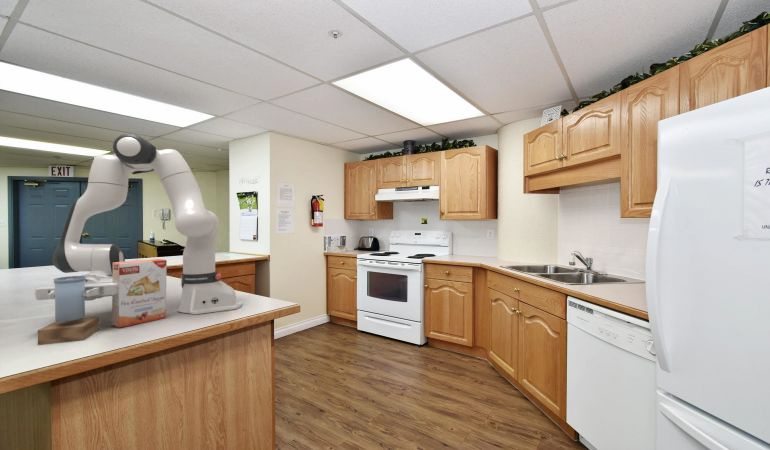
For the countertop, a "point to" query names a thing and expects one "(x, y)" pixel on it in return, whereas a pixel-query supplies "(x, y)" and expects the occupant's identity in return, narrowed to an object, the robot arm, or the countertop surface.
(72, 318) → the canister
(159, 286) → the cracker box
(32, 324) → the countertop surface
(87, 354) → the countertop surface
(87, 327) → the plinth
